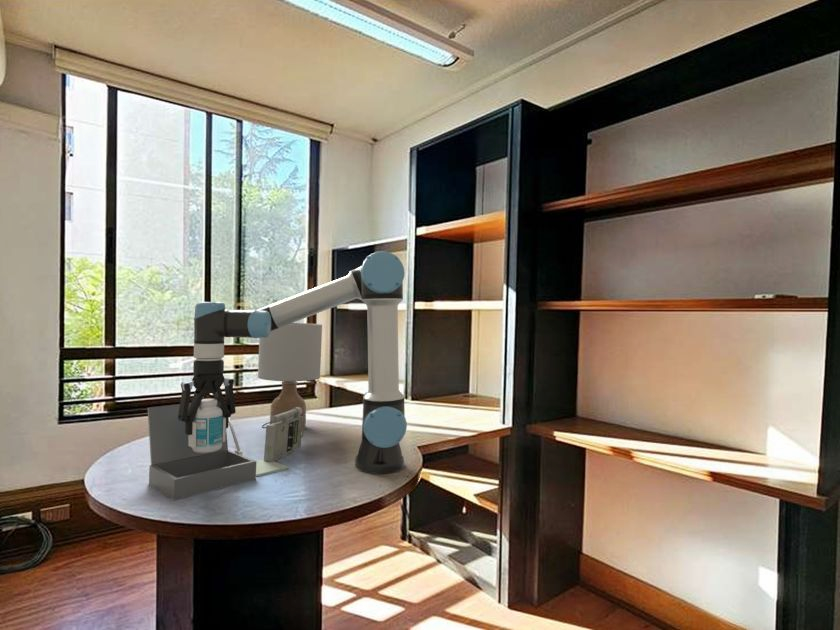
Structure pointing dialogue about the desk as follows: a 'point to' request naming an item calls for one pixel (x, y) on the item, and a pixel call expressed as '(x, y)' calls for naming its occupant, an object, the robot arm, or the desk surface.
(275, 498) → the desk surface
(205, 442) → the pill bottle
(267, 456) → the geiger counter
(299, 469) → the desk surface
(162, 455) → the case
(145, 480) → the desk surface
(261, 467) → the mat
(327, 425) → the desk surface
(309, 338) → the lamp
